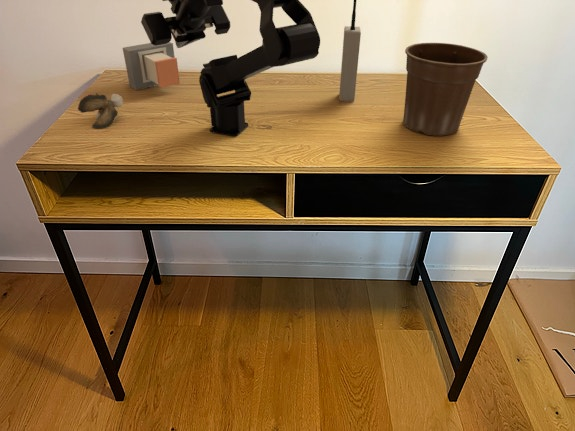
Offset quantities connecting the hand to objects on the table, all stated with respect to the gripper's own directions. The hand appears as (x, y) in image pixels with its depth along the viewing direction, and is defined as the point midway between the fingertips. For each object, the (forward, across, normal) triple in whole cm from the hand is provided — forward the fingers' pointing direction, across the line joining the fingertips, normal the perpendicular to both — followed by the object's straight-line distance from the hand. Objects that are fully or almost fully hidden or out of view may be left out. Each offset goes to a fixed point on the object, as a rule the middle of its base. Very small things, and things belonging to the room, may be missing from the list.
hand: (178, 46), depth 106 cm
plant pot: (-23, -37, +42) cm, 61 cm away
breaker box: (+22, 0, -3) cm, 22 cm away
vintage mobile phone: (-6, -34, +26) cm, 43 cm away
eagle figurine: (+11, +20, +9) cm, 24 cm away
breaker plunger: (+16, 0, -1) cm, 16 cm away
